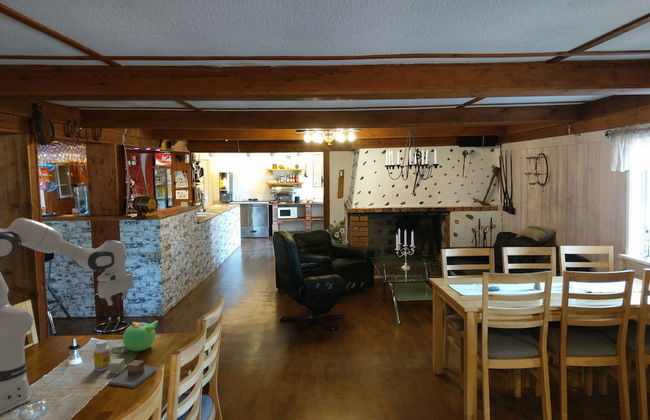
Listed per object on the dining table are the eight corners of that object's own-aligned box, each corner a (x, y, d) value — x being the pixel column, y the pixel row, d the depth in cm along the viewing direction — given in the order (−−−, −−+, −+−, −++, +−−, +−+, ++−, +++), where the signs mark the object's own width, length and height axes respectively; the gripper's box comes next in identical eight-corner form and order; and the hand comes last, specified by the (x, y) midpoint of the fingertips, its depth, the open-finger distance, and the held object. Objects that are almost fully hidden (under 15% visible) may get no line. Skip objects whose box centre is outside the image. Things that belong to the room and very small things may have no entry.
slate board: (133, 387, 192) (133, 385, 192) (108, 384, 195) (108, 381, 195) (159, 369, 209) (159, 367, 209) (135, 366, 212) (135, 364, 212)
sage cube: (120, 373, 205) (119, 363, 205) (109, 373, 205) (108, 363, 205) (124, 368, 210) (124, 358, 210) (114, 369, 210) (113, 358, 210)
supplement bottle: (104, 371, 207) (102, 345, 206) (91, 370, 209) (90, 344, 207) (113, 365, 214) (112, 339, 213) (101, 364, 215) (100, 339, 214)
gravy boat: (125, 344, 240) (124, 318, 238) (159, 340, 245) (157, 315, 243) (121, 358, 222) (119, 329, 221) (157, 353, 228) (155, 325, 226)
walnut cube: (137, 376, 200) (136, 365, 199) (127, 375, 201) (127, 364, 201) (144, 371, 205) (143, 361, 204) (135, 370, 206) (134, 360, 205)
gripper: (125, 268, 221) (126, 295, 223) (94, 278, 202) (96, 308, 203) (136, 269, 220) (137, 296, 221) (106, 279, 200) (107, 309, 201)
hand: (117, 302), depth 212 cm, fingers open, 8 cm apart
